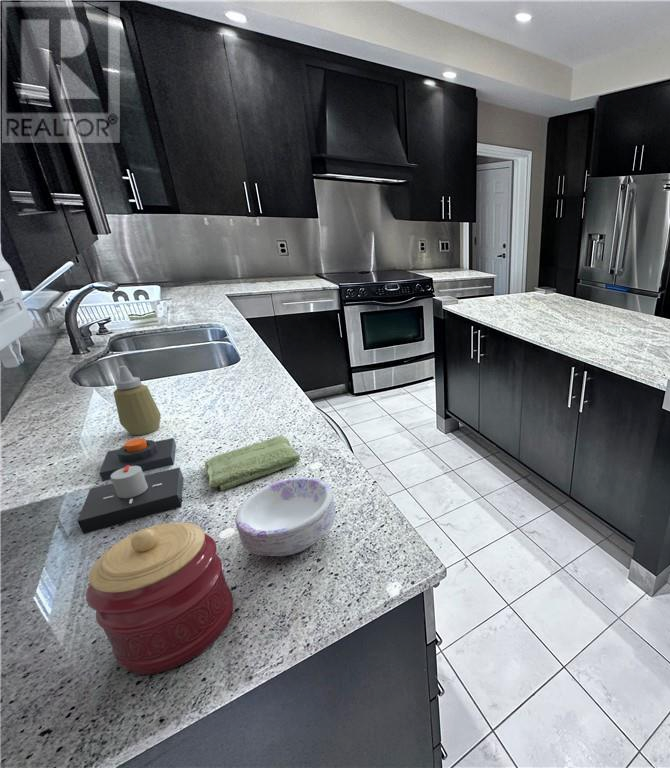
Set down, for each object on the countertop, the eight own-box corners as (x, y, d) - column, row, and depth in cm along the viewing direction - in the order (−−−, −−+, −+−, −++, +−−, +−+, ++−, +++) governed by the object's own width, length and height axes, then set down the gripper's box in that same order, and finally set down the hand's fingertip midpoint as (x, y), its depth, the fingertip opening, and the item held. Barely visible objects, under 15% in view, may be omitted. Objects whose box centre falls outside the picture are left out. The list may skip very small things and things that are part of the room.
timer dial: (146, 493, 79) (138, 473, 77) (115, 501, 76) (107, 480, 75) (149, 482, 82) (142, 462, 80) (120, 488, 80) (112, 468, 78)
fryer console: (83, 534, 72) (76, 520, 71) (95, 500, 81) (89, 487, 79) (181, 506, 80) (176, 493, 79) (183, 478, 88) (179, 466, 87)
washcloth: (202, 467, 92) (199, 455, 91) (287, 442, 103) (284, 431, 102) (212, 495, 83) (208, 483, 82) (303, 465, 95) (301, 453, 93)
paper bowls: (231, 578, 65) (219, 540, 62) (259, 515, 79) (250, 481, 76) (332, 561, 69) (326, 524, 66) (342, 504, 83) (337, 471, 80)
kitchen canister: (235, 644, 55) (203, 546, 49) (108, 699, 49) (49, 593, 42) (234, 577, 65) (207, 487, 59) (128, 615, 59) (84, 518, 52)
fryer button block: (102, 481, 86) (96, 465, 85) (110, 459, 94) (104, 444, 92) (173, 464, 93) (168, 449, 91) (176, 445, 100) (171, 431, 99)
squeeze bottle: (163, 433, 105) (141, 368, 98) (121, 441, 101) (96, 374, 94) (166, 420, 111) (146, 359, 105) (127, 427, 107) (103, 364, 100)
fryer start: (125, 454, 90) (122, 447, 89) (127, 447, 92) (125, 440, 92) (146, 450, 92) (144, 443, 91) (148, 443, 94) (146, 436, 94)
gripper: (-23, 281, 75) (10, 352, 80) (-82, 300, 59) (-37, 387, 65) (27, 279, 78) (55, 347, 84) (-17, 297, 63) (21, 379, 68)
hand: (15, 365), depth 74 cm, fingers closed
